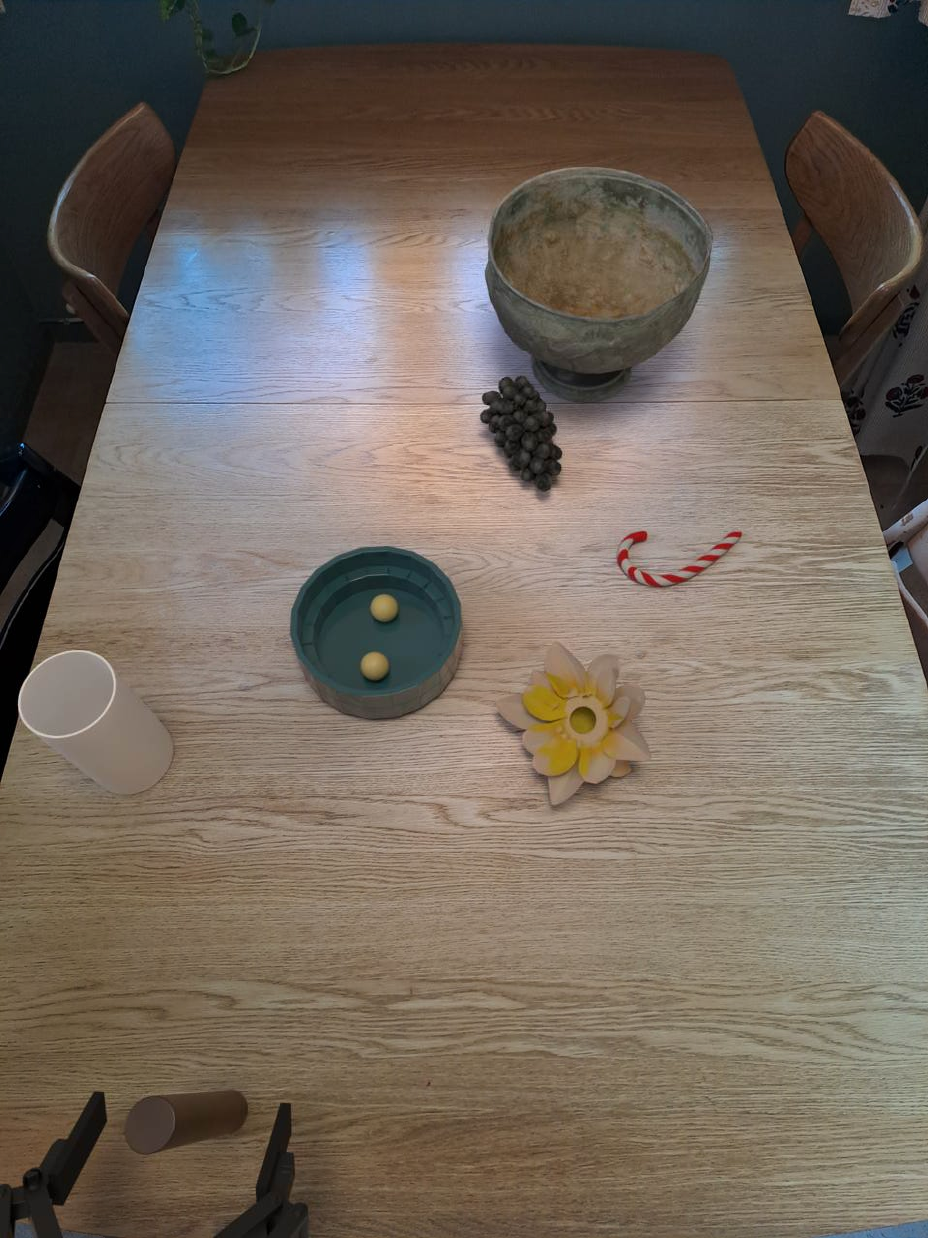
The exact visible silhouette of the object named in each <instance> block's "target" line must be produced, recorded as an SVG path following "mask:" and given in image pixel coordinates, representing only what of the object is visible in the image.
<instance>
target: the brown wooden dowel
mask: <svg viewBox="0 0 928 1238" xmlns="http://www.w3.org/2000/svg"><path fill="white" fill-rule="evenodd" d="M248 1109H249V1107H248V1103H247V1100H246V1098H245V1096H244V1095H243V1094H242V1093H241V1092H240V1091H238V1090H235V1089H225V1090H224V1089H223V1090H213V1091H212V1090H211V1091H200V1092H199V1091H198V1092H186V1093H185V1092H184V1093H183V1092H182V1093H172V1094H170V1093H169V1094H158V1095H150V1096H146V1097H143V1098H142V1099H140V1100H139V1101H137V1102H136V1104H134V1105H133V1107H132V1108H131V1109H130V1111H129V1113H127V1114H128V1115H127V1117H126V1119H125V1123H124V1139H125V1141H126V1144H127V1145H128V1147H129V1148H130V1149H131V1150H132V1151H133V1152H135V1153H136V1154H139V1155H143V1156H148V1155H149V1156H150V1155H153V1154H157V1153H162V1152H165V1151H169V1150H173V1149H176V1148H180V1147H184V1146H188V1145H192V1144H196V1143H200V1142H203V1141H207V1140H212V1139H215V1138H218V1137H222V1136H227V1135H230V1134H234V1133H235V1132H237V1131H239V1130H240V1128H242V1126H243V1125H244V1124H245V1122H246V1119H247V1117H248Z"/></svg>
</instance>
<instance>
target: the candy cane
mask: <svg viewBox="0 0 928 1238" xmlns="http://www.w3.org/2000/svg"><path fill="white" fill-rule="evenodd" d="M742 536H743V533H742V530H740V529H739V528H734V529H732V530H731V531H730V532H729V533H728V534H727V535H725V537H723V539H721V540H720V541H719V542H718V543H716V544H715V546H713V547H712V548H711V549H709V550H708V551H707V552H705V553H704V554H703V555H702V556H700V557H699V558H697V559H696V560H694V561H692V563H690V564H689V565H687V566H685V567H683V568H681V569H678V570H677V571H674V572H671V573H667V574H651V573H648V572H645V571H643V570H640V569H639V568H638V567H636V566H635V565H634V564H633V563H632V561H631V559H630V557H629V550H630V548H631V546H632V545H633V544H635V543H637V542H642V541H643V542H644V541H646V540H647V539H648V532H647V531H646V530H639V531H635V532H632V533H630V534H628V535H626V536H625V537H624V538H623V539H622V540H621V542H620V543H619V545H618V548H617V555H616V556H617V557H616V559H617V561H618V564H619V566H620V568H621V570H622V571H623V572H624V573H625V574H626V575H627V576H628V577H629V578H631V579H632V580H633V581H635V582H636V583H638V584H642V585H645V586H649V587H667V586H673V585H676V584H679V583H682V582H684V581H686V580H688V579H690V578H692V577H694V576H696V575H697V574H699V573H700V572H701V571H704V570H705V569H707V567H709V566H710V565H712V564H713V563H714V562H715V561H717V560H718V559H719V558H720V557H722V556H723V555H724V554H725V553H726V552H727V551H729V550H730V549H731V548H732V546H734V545H735V544H736V543H737V542H738V541H739V540H740V539H741V538H742Z"/></svg>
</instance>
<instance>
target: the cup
mask: <svg viewBox="0 0 928 1238" xmlns="http://www.w3.org/2000/svg"><path fill="white" fill-rule="evenodd" d="M17 706H18V714H19V716H20V719H21V721H22V723H23V724H24V725H25V726H26V728H27V729H28V730H29V731H31V732H32V733H33V734H34V735H35V736H37V737H38V738H39V739H40V740H41V741H43V742H44V743H45V744H47V746H49V747H51V748H52V749H53V750H54V751H56V752H57V753H58V754H60V756H62V757H63V758H64V759H66V760H67V761H68V762H69V763H70V764H72V765H73V766H75V767H76V768H77V769H79V770H80V771H81V772H82V773H83V774H84V775H86V776H87V777H88V778H90V780H92V781H94V782H95V783H96V784H97V785H99V786H100V787H101V788H102V789H104V790H105V791H107V792H109V793H111V794H115V795H120V796H130V795H136V794H140V793H143V792H144V791H147V790H149V789H150V788H152V787H154V786H155V785H157V783H159V782H160V781H161V780H162V778H164V776H165V775H166V774H167V772H168V770H169V768H170V767H171V765H172V761H173V759H174V758H173V757H174V753H175V749H174V748H175V747H174V741H173V738H172V737H173V736H172V735H171V733H170V732H169V730H168V729H167V728H166V726H165V725H164V724H163V723H162V722H161V720H160V719H159V718H158V717H157V716H156V715H155V714H154V713H153V711H152V710H151V709H150V707H148V706H147V705H146V704H145V702H144V701H143V700H142V699H141V697H140V696H139V695H138V693H136V692H135V691H134V689H133V688H132V687H131V686H130V685H129V684H128V683H127V681H126V680H125V679H124V678H123V677H122V676H121V675H120V673H119V672H118V671H117V670H116V669H115V668H114V666H112V664H111V663H110V661H108V660H106V658H104V657H103V656H101V655H100V654H98V653H96V652H93V651H89V650H83V649H71V650H66V651H62V652H58V653H55V654H54V655H52V656H49V657H48V658H46V659H44V660H42V661H41V662H40V663H39V664H37V665H36V666H35V667H34V668H33V670H32V671H31V672H30V673H29V674H28V675H27V677H26V678H25V679H24V681H23V683H22V686H21V687H20V690H19V694H18V700H17Z"/></svg>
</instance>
